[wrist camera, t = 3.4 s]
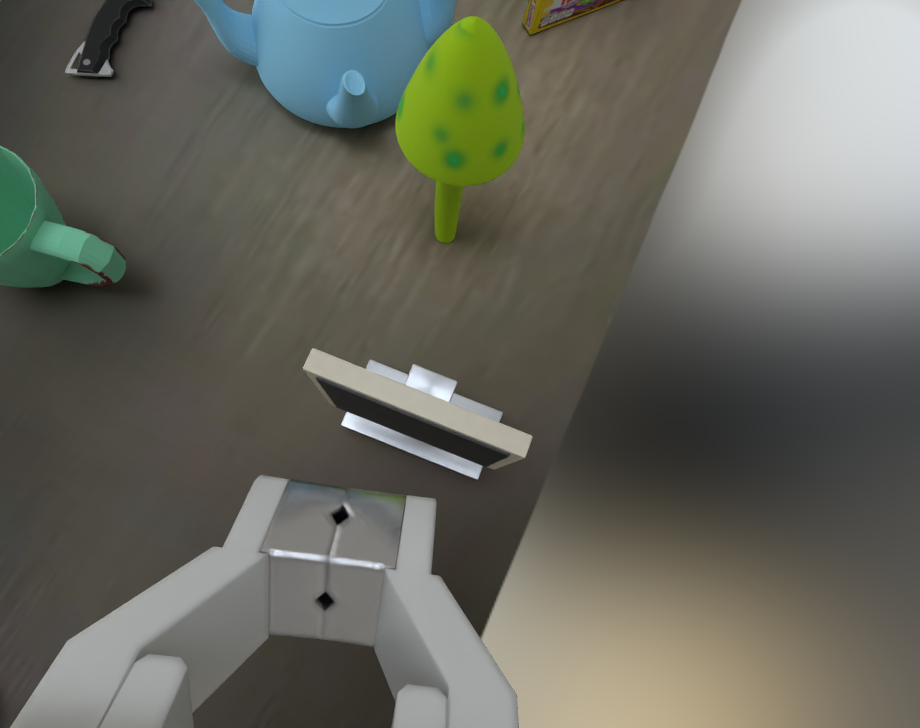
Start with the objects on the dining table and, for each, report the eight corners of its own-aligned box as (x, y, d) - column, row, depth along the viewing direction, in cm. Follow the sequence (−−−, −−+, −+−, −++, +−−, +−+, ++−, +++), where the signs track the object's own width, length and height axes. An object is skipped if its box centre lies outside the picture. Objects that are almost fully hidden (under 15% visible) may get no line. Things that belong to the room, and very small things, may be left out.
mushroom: (398, 276, 53) (391, 88, 29) (398, 190, 55) (392, -55, 31) (492, 278, 54) (562, 95, 30) (489, 192, 56) (553, -46, 32)
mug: (-39, 294, 50) (-147, 243, 40) (17, 192, 52) (-72, 121, 42) (132, 348, 50) (65, 311, 40) (179, 244, 52) (128, 185, 43)
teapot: (374, 186, 55) (366, 99, 43) (205, 83, 56) (151, -31, 44) (472, 54, 59) (488, -59, 47) (312, -40, 60) (289, -174, 48)
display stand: (476, 480, 50) (502, 472, 36) (341, 426, 50) (317, 398, 36) (501, 414, 51) (535, 381, 38) (370, 361, 51) (357, 310, 38)
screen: (493, 472, 41) (524, 461, 30) (328, 406, 41) (300, 371, 30) (504, 441, 41) (539, 419, 31) (342, 375, 41) (319, 331, 31)
